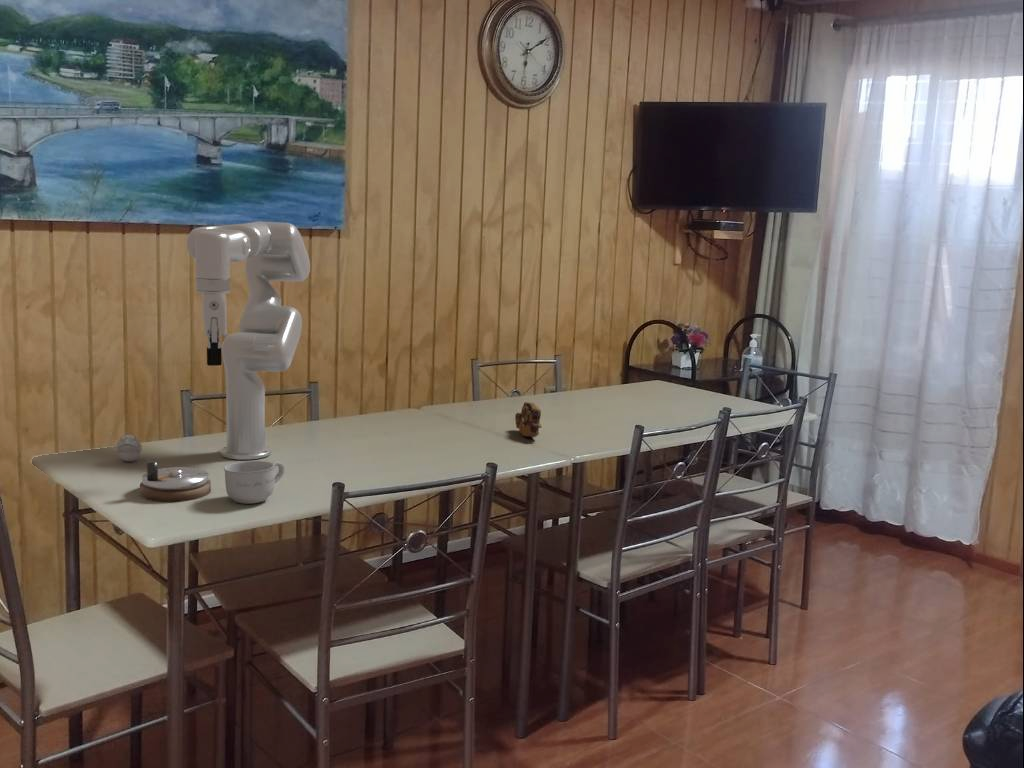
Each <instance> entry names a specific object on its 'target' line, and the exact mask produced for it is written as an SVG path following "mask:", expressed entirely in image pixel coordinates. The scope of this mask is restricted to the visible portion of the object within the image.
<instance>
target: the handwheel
mask: <svg viewBox="0 0 1024 768" xmlns="http://www.w3.org/2000/svg"><path fill="white" fill-rule="evenodd" d="M208 479H209V472H207V471H206V470H205V469H202V468H198V467H190V466H189V467H188V466H173V467H172V466H171V467H170V466H169V467H162V468H159V467H158V461H156V460H149V461H147V462H146V472H145V473H143V475H141V482H142V485H143V486H144V487H146V488H149V489H153V490H160V491H180V490H188V489H194V488H198V487H201V486H203V485H205V484H207V483H208Z"/></svg>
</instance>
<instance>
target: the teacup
mask: <svg viewBox="0 0 1024 768" xmlns="http://www.w3.org/2000/svg"><path fill="white" fill-rule="evenodd" d="M275 467H278V472H277V473H276V475H275ZM223 470H224V482H225V483H224V484H225V489H226V490H225V491H226V494H227V496H228V497H230V498H231V499H232V500H234V502H236V503H238V504H248V505H249V504H250V505H251V504H256V503H257V504H258V503H262V502H264V501H266V500H267V499H268V498H269V497H270V496H271V495H272V494H273V493H274V490H275V485H276V483H277V482H278V481H280V479H281V478H282V477H283V476H284V474H285V467H284V464H283V463H282V462H280V461H273V462H270V461H266V460H246V461H245V460H244V461H238V462H233V463H229V464H227V465H225V466H224V467H223Z"/></svg>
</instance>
